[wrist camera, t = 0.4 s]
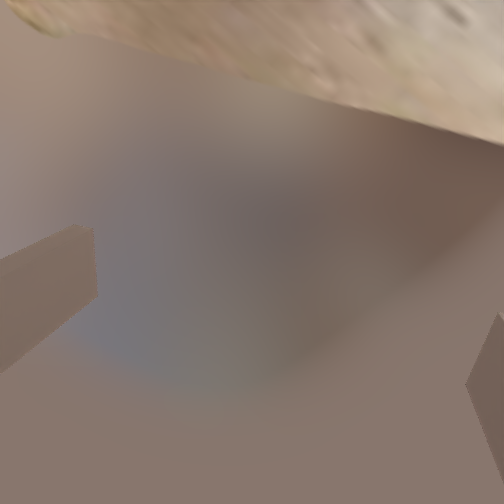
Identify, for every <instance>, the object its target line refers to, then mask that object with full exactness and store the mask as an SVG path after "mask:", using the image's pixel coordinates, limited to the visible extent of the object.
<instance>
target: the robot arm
mask: <svg viewBox="0 0 504 504" xmlns="http://www.w3.org/2000/svg"><path fill="white" fill-rule="evenodd" d="M97 296H98V292H97V279H96V265H95V249H94V234H93V228H88V227H83V226H78V225H72V226H70V227H68V228H65V229H63V230H61V231H59V232H57V233H55V234H53V235H51V236H49V237H47V238H44V239H42V240H40V241H38V242H36V243H34V244H32V245H30V246H28V247H26V248H24V249H21V250H19V251H17V252H15V253H13V254H11V255H9V256H7V257H5V258H3V259H1V260H0V374H1V373H3V372H4V371H5V370H6V369H8V368H9V367H10V366H11V365H13V364H14V363H15V362H16V361H18V360H19V359H20V358H21V357H23V356H24V355H25V354H26V353H28V352H29V351H30V350H31V349H32V348H34V347H35V346H36V345H38V344H39V343H40V342H41V341H43V340H44V339H45V338H46V337H48V336H49V335H50V334H51V333H52V332H54V331H55V330H56V329H58V328H59V327H60V326H61V325H62V324H64V323H65V322H66V321H67V320H69V319H70V318H71V317H72V316H74V315H75V314H76V313H77V312H78V311H80V310H81V309H82V308H84V307H85V306H86V305H87V304H89V303H90V302H91V301H92V300H94V299H95V298H96V297H97ZM465 385H466V387H467V390H468V393H469V395H470V397H471V400H472V403H473V406H474V408H475V411H476V413H477V416H478V418H479V421H480V424H481V426H482V429H483V431H484V434H485V436H486V439H487V442H488V444H489V447H490V449H491V452H492V454H493V457H494V460H495V462H496V465H497V467H498V470H499V472H500V475H501V477H502V480H503V483H504V313H500V312H498V313H497V315H496V318H495V320H494V322H493V325H492V327H491V329H490V331H489V333H488V335H487V338H486V340H485V342H484V344H483V347H482V349H481V351H480V353H479V356H478V358H477V360H476V362H475V365H474V367H473V369H472V371H471V373H470V376H469V378H468V380H467V382H466V384H465Z"/></svg>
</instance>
